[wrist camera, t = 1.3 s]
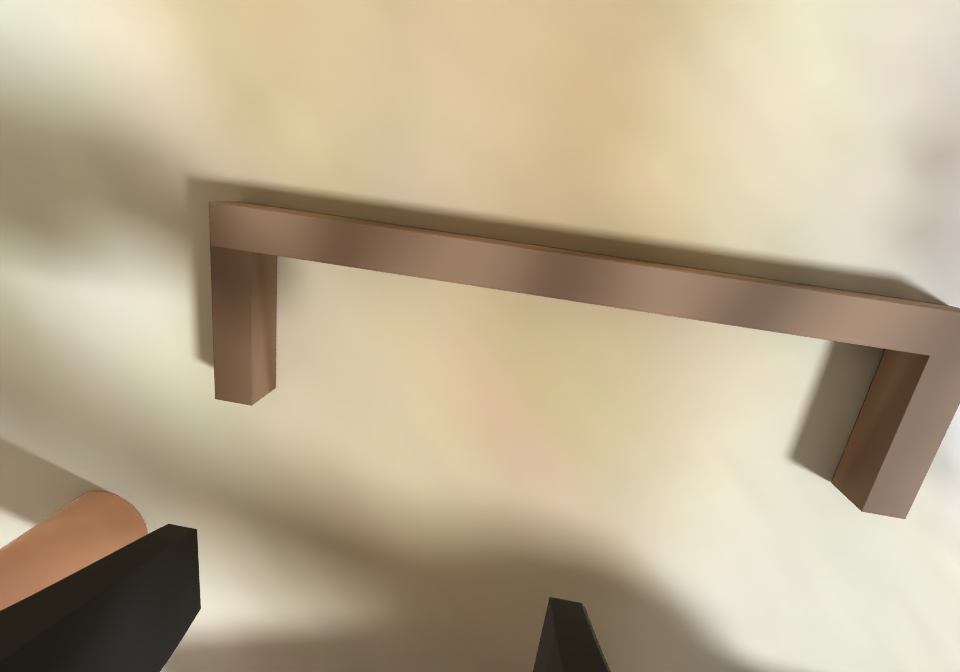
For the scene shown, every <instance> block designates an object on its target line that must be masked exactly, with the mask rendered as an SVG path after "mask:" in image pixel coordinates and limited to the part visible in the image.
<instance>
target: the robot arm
mask: <svg viewBox="0 0 960 672" xmlns="http://www.w3.org/2000/svg"><path fill="white" fill-rule="evenodd" d="M200 609H201V604H200V583H199V562H198V542H197V529H193V528H187V527H182V526H177V525H172V524H168V525H165V526H163V527H161V528H159V529H157V530H155V531H153V532H151V533H149V534H147V535H145V536H143V537H141V538H139V539H138V540H136V541H134V542H132V543H130V544H128V545H126V546H124V547H122V548H120V549H119V550H117V551H115V552H113V553H111V554H109V555H107V556H105V557H103V558H102V559H100V560H98V561H96V562H94V563H92V564H90V565H88V566H87V567H85V568H83V569H81V570H79V571H77V572H75V573H73V574H71V575H69V576H67V577H65V578H64V579H62V580H60V581H58V582H56V583H54V584H52V585H50V586H48V587H46V588H44V589H43V590H41V591H39V592H37V593H35V594H33V595H31V596H29V597H27V598H25V599H23V600H21V601H19V602H17V603H15V604H13V605H11V606H9V607H7V608H5V609H3V610H1V611H0V672H160V670H161V669H162V668H163V666H164V665H165V664H166V662H167V661H168V659H169V658H170V656H171V655H172V653H173V652H174V650H175V649H176V647H177V646H178V644H179V643H180V641H181V640H182V638H183V636H184V635H185V633H186V632H187V630H188V628H189V627H190V625H191V623H192V622H193V620H194V619H195V617H196V615H197V614H198V612H199V611H200ZM533 672H611V671H610V669H609V667H608V664H607V662H606V660H605V657H604V655H603V653H602V650H601V648H600V645H599V643H598V640H597V638H596V635H595V633H594V630H593V628H592V625H591V622H590V620H589V617H588V614H587V612H586V609H585V608H584V606H583V605H582V604H581V603H578V602H572V601H567V600H562V599H557V598H551V597H550V598H549V603H548V607H547V612H546V616H545V621H544V625H543V630H542V634H541V639H540V643H539V648H538V652H537V657H536V661H535V665H534V670H533Z"/></svg>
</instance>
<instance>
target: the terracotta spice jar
mask: <svg viewBox="0 0 960 672" xmlns="http://www.w3.org/2000/svg"><path fill="white" fill-rule="evenodd" d="M147 534H148V533H147V528H146V524H145V522H144V520H143V518H142V517H141V515H140V514H139V512H138V511H137V510H136V509H135V508H134V507H133V506H132V505H131V504H130V503H129V502H127V501H126V500H124V499H123V498H121V497H119V496H117V495H115V494H112V493H108V492H103V491H92V492H88V493H85V494H83V495H82V496H80V497H78V498H77V499H75V500H74V501H72V502H71V503H69V504H68V505H66V506H65V507H63V508H62V509H60V510H59V511H57V512H56V513H54V514H53V515H51V516H50V517H48V518H47V519H45V520H43V521H42V522H40V523H39V524H37V525H36V526H34V527H33V528H31V529H30V530H28V531H27V532H25V533H24V534H22V535H21V536H19V537H18V538H16V539H15V540H13V541H12V542H10V543H8V544H7V545H5V546H4V547H2V548H1V549H0V611H1V610H3V609H5V608H7V607H9V606H11V605H13V604H15V603H17V602H19V601H21V600H23V599H25V598H27V597H29V596H31V595H33V594H35V593H37V592H39V591H41V590H43V589H44V588H46V587H48V586H50V585H52V584H54V583H56V582H58V581H60V580H62V579H64V578H65V577H67V576H69V575H71V574H73V573H75V572H77V571H79V570H81V569H83V568H85V567H87V566H88V565H90V564H92V563H94V562H96V561H98V560H100V559H102V558H103V557H105V556H107V555H109V554H111V553H113V552H115V551H117V550H119V549H120V548H122V547H124V546H126V545H128V544H130V543H132V542H134V541H136V540H138V539H139V538H141V537H143V536H145V535H147Z"/></svg>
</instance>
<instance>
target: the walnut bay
mask: <svg viewBox="0 0 960 672" xmlns="http://www.w3.org/2000/svg"><path fill="white" fill-rule="evenodd" d="M209 219H210V251H211V283H212V315H213V346H214V378H215V399H218V400H224V401H229V402H235V403H241V404H247V405H253V404H254V403H256V402H257V401H258V400H260V399H261V398H262V397H264V396H265V395H267V394H268V393H269V392H271V391H272V390H273V389H275V388H276V297H277V256H282V257H289V258H296V259H302V260H309V261H315V262H322V263H328V264H335V265H341V266H348V267H354V268H361V269H367V270H374V271H380V272H387V273H393V274H400V275H407V276H413V277H420V278H426V279H433V280H439V281H446V282H452V283H459V284H465V285H472V286H478V287H485V288H491V289H498V290H504V291H511V292H518V293H524V294H531V295H537V296H544V297H550V298H557V299H563V300H570V301H576V302H583V303H589V304H596V305H602V306H609V307H615V308H622V309H629V310H635V311H642V312H648V313H655V314H661V315H668V316H674V317H681V318H687V319H694V320H700V321H707V322H713V323H720V324H726V325H733V326H740V327H746V328H753V329H759V330H766V331H772V332H779V333H785V334H792V335H798V336H805V337H811V338H818V339H824V340H831V341H837V342H844V343H851V344H857V345H864V346H870V347H877V348H883V349H886V350H885V352H884V354H883V357H882V359H881V362H880V364H879V367H878V369H877V372H876V374H875V377H874V379H873V381H872V384H871V386H870V389H869V391H868V394H867V396H866V399H865V401H864V404H863V406H862V409H861V411H860V413H859V416H858V418H857V421H856V423H855V426H854V428H853V431H852V433H851V436H850V438H849V441H848V443H847V445H846V448H845V450H844V453H843V455H842V458H841V460H840V463H839V465H838V468H837V470H836V473H835V475H834V477H833V480H832V482H831V483H832V484H833V485H834V486H835V487H836V488H837V489H838V490H839V491H840V492H842V493H843V494H844V495H845V496H846V497H847V498H848V499H849V500H850V501H851V502H852V503H853V504H854V505H855V506H856V507H858V508H859V509H860V510H861V511H862V512H867V513H873V514H879V515H885V516H890V517H896V518H902V519H905V518H906V516H907V514H908V512H909V510H910V508H911V506H912V504H913V501H914V499H915V497H916V495H917V493H918V491H919V489H920V487H921V484H922V482H923V480H924V478H925V476H926V474H927V472H928V470H929V468H930V465H931V463H932V461H933V459H934V457H935V455H936V453H937V451H938V448H939V446H940V444H941V442H942V440H943V438H944V436H945V434H946V431H947V429H948V427H949V425H950V423H951V421H952V419H953V417H954V414H955V412H956V410H957V408H958V406H959V404H960V308H956V307H952V306H947V305H940V304H933V303H926V302H919V301H913V300H906V299H899V298H892V297H885V296H879V295H872V294H865V293H858V292H851V291H844V290H838V289H831V288H824V287H817V286H810V285H804V284H797V283H790V282H783V281H776V280H769V279H763V278H756V277H749V276H742V275H735V274H728V273H722V272H715V271H708V270H701V269H694V268H688V267H681V266H674V265H667V264H660V263H653V262H647V261H640V260H633V259H626V258H619V257H613V256H606V255H599V254H592V253H585V252H578V251H572V250H565V249H558V248H551V247H544V246H538V245H531V244H524V243H517V242H510V241H503V240H497V239H490V238H483V237H476V236H469V235H462V234H456V233H449V232H442V231H435V230H428V229H422V228H415V227H408V226H401V225H394V224H387V223H381V222H374V221H367V220H360V219H353V218H347V217H340V216H333V215H326V214H319V213H312V212H306V211H299V210H292V209H285V208H278V207H272V206H265V205H258V204H251V203H244V202H209Z"/></svg>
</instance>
